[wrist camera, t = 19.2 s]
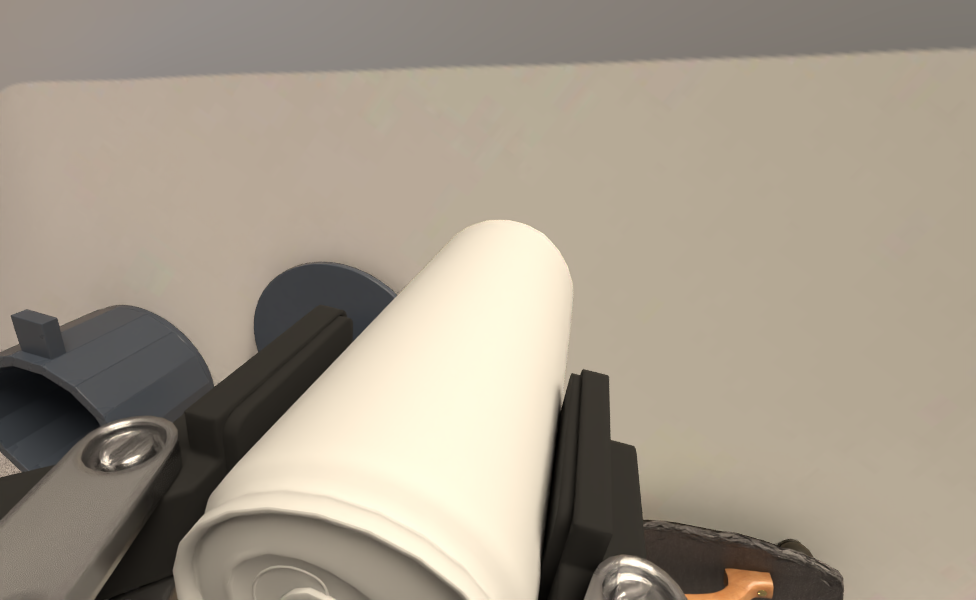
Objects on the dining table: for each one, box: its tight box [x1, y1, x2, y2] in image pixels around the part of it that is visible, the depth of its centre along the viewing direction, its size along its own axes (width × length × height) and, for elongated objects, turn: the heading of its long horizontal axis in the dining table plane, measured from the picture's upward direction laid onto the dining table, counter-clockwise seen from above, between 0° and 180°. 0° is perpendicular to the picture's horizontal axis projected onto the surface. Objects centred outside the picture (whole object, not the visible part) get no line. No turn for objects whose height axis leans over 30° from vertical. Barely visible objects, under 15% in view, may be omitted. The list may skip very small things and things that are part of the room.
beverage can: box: [173, 220, 573, 600], centre depth 11 cm, size 5×5×12 cm
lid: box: [254, 262, 397, 352], centre depth 33 cm, size 14×14×6 cm
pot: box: [0, 305, 214, 472], centre depth 37 cm, size 13×18×8 cm
